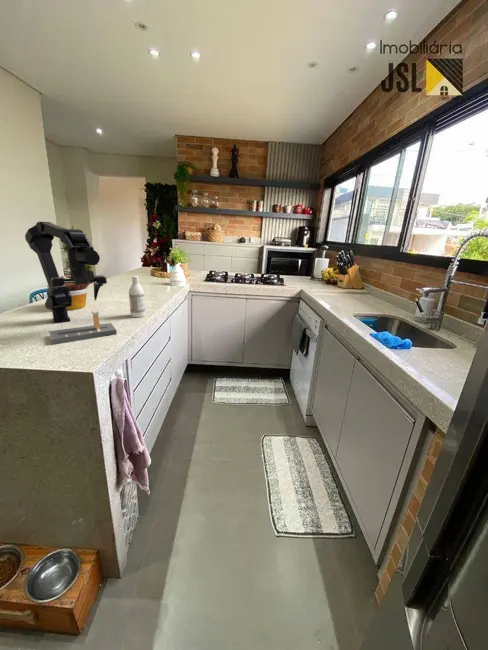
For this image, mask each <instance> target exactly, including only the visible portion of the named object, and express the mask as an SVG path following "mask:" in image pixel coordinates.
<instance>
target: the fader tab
mask: <svg viewBox="0 0 488 650" xmlns="http://www.w3.org/2000/svg"><path fill="white" fill-rule="evenodd" d="M91 313H92V319H93V325H94V327H95V329H98V328H100V318H99V317H100V316H99V314H100V313H99V311H98V310H97V309H95V310H91Z"/></svg>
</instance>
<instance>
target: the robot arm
mask: <svg viewBox="0 0 488 650" xmlns="http://www.w3.org/2000/svg"><path fill="white" fill-rule="evenodd" d="M55 237H56V238H57V239H60V243H62V244H64V245H65V247H64V248H63V250H64V251H66V253H67V261H68V265H69V273H70V274H69V275H71V279H64V278H63V277H62V276H60V274H59V272H58V270H57V266H56V263H55V262H54V259H53V256H52V255H53V254H52V252H51V251H52V247H53V240H54V238H55ZM24 238H25V241H26V243H27V245H28V246H29V248H30V249H31V250H32V251H33V252H34V253H36V254H37V257H38V260H39V263H40V266H41V268H42V271H43V275H44V277H45V280H46V283H47V285H48V286H49V288H48V287H47V290H46V291H47V292H46V296H47V299H46V300H45V302H44V306H45V308H46V309H47V310H50V311H51V312H52V317H53V318H52V323H53V324H56V323H64V322H65V323H66V322H70V321H71V318H70V316H69V313H68V310H67V307H69V306H72V296H71V294H70V292H69V288H68V287H66V286H65V284H66V283H75V284H76V285H80V284H89V282H90V283H93V298H94V301H97V299H98V294H99V290H100V288H101V287H103V286H105V284H107V283H108V281H107V280H108V279H107V277H105V276H104V275H101V274H98V275H94V271H93V270H87V265H88V266H97V265H98V264H99V262H100V258H101V257H100V255H99V253H98V252H97V250H94V246H92V244H91V242H90V240H89V239H88V238H87V236H86V234H85V233H84V231H83V230H81V229H72V228H71V229H69V228H66V227H62V226H60V225H57V224H54V223H52V222H50V221H37V222H36V224H35V225H34V226H32V227H30V228H28V230H27V231H26V233H25V235H24ZM58 274H59V275H58ZM89 285H90V284H89Z"/></svg>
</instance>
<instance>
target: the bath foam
mask: <svg viewBox="0 0 488 650" xmlns="http://www.w3.org/2000/svg"><path fill="white" fill-rule="evenodd" d="M131 278H132V279H131V281H132V284H131V286H130V287H129V291H128V298H129V308H130V310H129V311H130V316H131V317H132V318H143V317H145V316H146V303H145V302H146V301H145V300H146V299H145V292H144V289H143V287H142V286H141V284H140V280H139V278H140V277H139V276H138V275H132V276H131Z"/></svg>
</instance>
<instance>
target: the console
mask: <svg viewBox="0 0 488 650" xmlns="http://www.w3.org/2000/svg"><path fill="white" fill-rule="evenodd" d="M99 324H100V323H99ZM48 332H49V338H50V345H51V346H52V345H58V344H64V343H71V342H78V341H85V340H89V339H96V338H101V337H102V338H103V337H109V336H116V335H117V332H118V331H117V329H116V328H115V327H114V325H113V324H112V323H111V322H108V323H101V324H100V328H98V329H95V327H94V324H92V325H86V326H79V327H77V326H76V327H72V328H71V327H70V328H65V329H64V328H63V329H55V330H50V331H48Z"/></svg>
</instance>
